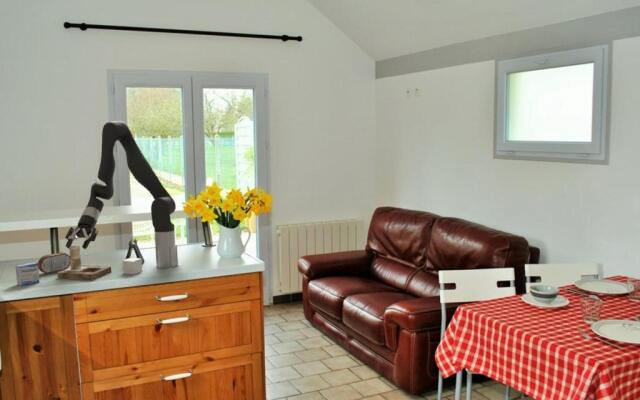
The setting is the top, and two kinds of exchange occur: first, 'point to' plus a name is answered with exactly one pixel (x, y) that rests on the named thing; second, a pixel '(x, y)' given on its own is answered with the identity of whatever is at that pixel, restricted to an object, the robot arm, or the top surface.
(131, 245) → the dark grey angled piece
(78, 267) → the birch peg
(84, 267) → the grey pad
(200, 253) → the top surface
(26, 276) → the medicine box
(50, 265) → the tin
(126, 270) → the white rounded cube
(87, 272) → the brown wooden tray
